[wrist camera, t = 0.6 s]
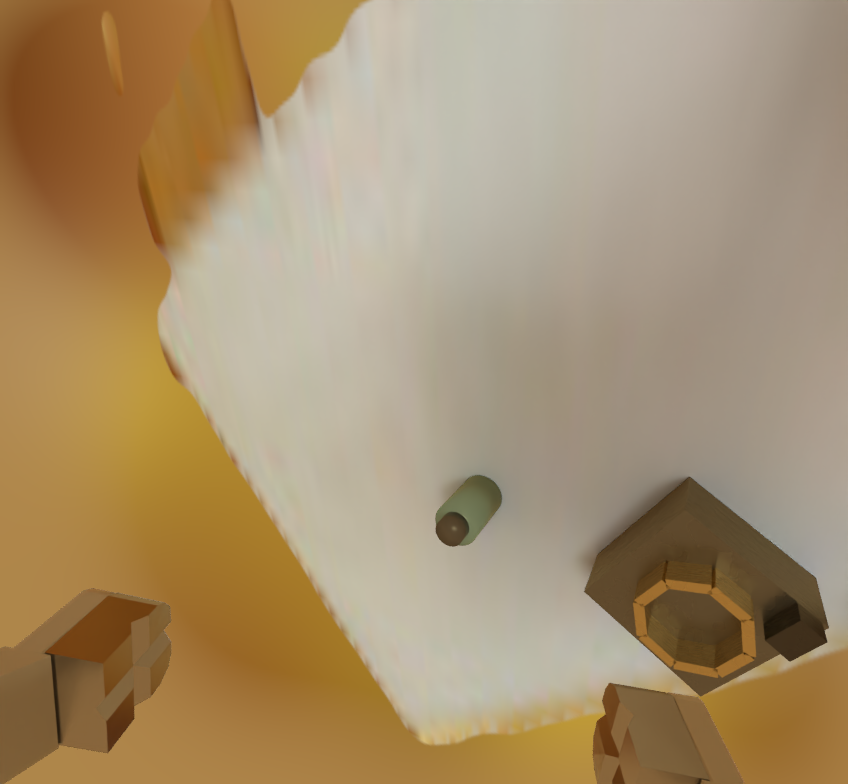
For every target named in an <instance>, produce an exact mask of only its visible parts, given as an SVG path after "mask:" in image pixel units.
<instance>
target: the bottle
mask: <svg viewBox="0 0 848 784" xmlns="http://www.w3.org/2000/svg"><path fill="white" fill-rule="evenodd" d="M501 502H502V495H501V492H500V489H499V487H498V486H497V485H496V483H495V482H494V481H492V480H491V479H489V478H487V477H485V476H481V475H475V476H472V477H470V478H468V479H467V480H466V481H465V482H464V484H463V485H462V486H461V487H460V488H459V489H458V490H457V491H456V492H455V493H454V494H453V495H452V496H451V497H450V498H449V499H448V500H447V501H446V502H445V503H444V504H443V505H442V506H441V507H440V508H439V510H438V511H437V513H436V534H437V536H438V538H439V539H440V540H441V541H442V542H443V543H444V544H446V545H448V546H458V545H461V546H464V545H468V544H470V543H472V542H473V541H474V540H475V538H476V537H477V536H478V534H479V533H480V532H481V530H482V529H483V528H484V527H485V525H486V524H487V523H488V521H489V520H490V519H491V517H492V516H493V515H494V513H495V512H496V511H497V510H498V508H499V507H500V505H501Z"/></svg>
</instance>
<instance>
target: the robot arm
mask: <svg viewBox="0 0 848 784" xmlns="http://www.w3.org/2000/svg"><path fill="white" fill-rule="evenodd" d="M170 615H171V614H170V606H169V605H167V604H166V603H164V602H159V601H154V600H150V599H145V598H140V597H135V596H130V595H125V594H121V593H113V592H108V591H104V590H99V589H94V588H91V589H88V590H84V591H82V592H81V593H80V594H78V595H77V596H76V597H75V598H74V599H72V600H71V601H70V602H69V603H68V604H66V605H65V606H64V607H63V608H61V609H60V610H59V611H58V612H57V613H55V614H54V615H53V616H52V617H51V618H49V619H48V620H47V621H46V622H44V623H43V624H42V625H41V626H40V627H38V628H37V629H36V630H35V631H34V632H32V633H31V634H30V635H29V636H27V637H26V638H25V639H24V640H23V641H21V642H20V643H19V644H18V645H16V646H15V647H14V648H11V647H3V648H0V784H4V783H6V782H7V781H9V780H11V779H12V778H13V777H15V776H16V775H18V774H20V773H21V772H23V771H24V770H26V769H27V768H29V767H30V766H32V765H34V764H35V763H37V762H38V761H40V760H41V759H43V758H44V757H46V756H47V755H49V754H50V753H52V752H53V751H55V750H56V749H58V747H59V745H63V746H68V747H74V748H80V749H86V750H91V751H98V752H103V753H108V752H109V751H110V750H111V749H112V747H113V746H114V744H115V743H116V742H117V741H118V739H119V738H120V737H121V735H122V734H123V733H124V732H125V730H126V729H127V728H128V726H129V725H130V724H131V722H132V721H133V720H134V706H135V705H137V704H139V703H141V702H143V701H144V700H146V699H148V698H150V697H151V696H152V695H153V693H154V692H155V690H156V689H157V688H158V686H159V685H160V683H161V681H162V679H163V677H164V675H165V673H166V670H167V668H168V666H169V661H170V656H171V641H170V639H169V638H168V636H167V635H166V633H165V632H164V629H165V628H166V627H167V626H168V624H169V623H170V622H171V616H170ZM602 701H603V705H604V709H605V713H606V715H604V716H603V717H602V718H600V719H599V720H598V721H597V723H596V728H595V732H594V738H593V761H594V770H595V775H596V779H597V784H745V782H744V781H743V779H742V777H741V775H740V773H739V771H738V769H737V767H736V765H735V763H734V761H733V759H732V757H731V755H730V753H729V751H728V749H727V748H726V745H725V744H724V742H723V740H722V738H721V736H720V734H719V732H718V730H717V728H716V726H715V724H714V722H713V721H712V718H711V716H710V714H709V712H708V710H707V708H706V707H705V705H704V703H703V702H702V701H701V700H700V699H699V698H698V697H694V696H688V695H681V694H675V693H669V692H668V693H665V692H660V691H654V690H648V689H643V688H637V687H631V686H625V685H619V684H614V683H609V684H608V686H607V687H606V689H605V692H604V696H603V700H602Z"/></svg>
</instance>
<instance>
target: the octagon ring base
mask: <svg viewBox="0 0 848 784" xmlns="http://www.w3.org/2000/svg"><path fill="white" fill-rule="evenodd" d="M584 592H585V593H586V594H588V595H589V596H590V597H591V598H592V599H593V600H594V601H595V602H596V603H598V604H599V605H600V606H601V607H602V608H603V609H604V610H605V611H606V612H608V613H609V614H610V615H611V616H612V617H613V618H614V619H615V620H616V621H617V622H619V623H620V624H621V625H622V626H623V627H624V628H625V629H626V630H627V631H629V632H630V633H631V634H632V635H633V636H634V637H635V638H636V639H637V640H639V641H640V642H641V643H642V644H643V645H644V646H645V647H646V648H647V649H649V650H650V651H651V652H652V653H653V654H654V655H655V656H656V657H657V658H659V659H660V660H661V661H662V662H663V663H664V664H665V665H666V666H667V667H668V668H670V669H671V670H672V671H673V672H674V673H675V674H676V675H677V676H678V677H680V678H681V679H682V680H683V681H684V682H685V683H686V684H687V685H688V686H690V687H691V688H692V689H693V690H694V691H695V692H696V693H697V694H698V695H700V696H702V695H704V694H706V693H708V692H710V691H712V690H714V689H716V688H717V687H719V686H721V685H723V684H725V683H727V682H729V681H731V680H732V679H734V678H736V677H738V676H740V675H742V674H744V673H745V672H747V671H749V670H751V669H753V668H755V667H757V666H759V665H760V664H762V663H764V662H766V661H768V660H770V659H772V658H774V657H775V656H777V655H779V654H781V655H783V656H784V657H785V658H786V659H787V660H788V661H792V660H794V659H796V658H798V657H800V656H802V655H804V654H806V653H807V652H809V651H811V650H813V649H815V648H817V647H819V646H821V645H823V644H825V643H827V639H826V635H825V631H824V630H826V629H828V628H829V626H828V623H827V619H826V615H825V611H824V607H823V603H822V599H821V596H820V592H819V588H818V584H817V580H816V578H815V577H814V576H813V575H811V574H810V573H809V572H808V571H806V570H805V569H804V568H803V567H801V566H800V565H799V564H798V563H796V562H795V561H794V560H793V559H792V558H790V557H789V556H788V555H787V554H785V553H784V552H783V551H782V550H780V549H779V548H778V547H777V546H775V545H774V544H773V543H772V542H770V541H769V540H768V539H767V538H765V537H764V536H763V535H762V534H760V533H759V532H758V531H757V530H755V529H754V528H753V527H752V526H750V525H749V524H748V523H747V522H745V521H744V520H743V519H742V518H740V517H739V516H738V515H737V514H735V513H734V512H733V511H732V510H730V509H729V508H728V507H727V506H725V505H724V504H723V503H722V502H720V501H719V500H718V499H717V498H715V497H714V496H713V495H712V494H710V493H709V492H708V491H707V490H705V489H704V488H703V487H702V486H700V485H699V484H698V483H697V482H695V481H694V480H693V479H692V478H690V477H689V478H688V479H686V480H685V481H684V482H683V483H682V484H680V485H679V486H678V487H677V488H676V489H675V490H673V491H672V492H671V493H670V494H669V495H667V496H666V497H665V498H664V499H663V500H661V501H660V502H659V503H658V504H657V505H656V506H654V507H653V508H652V509H651V510H650V511H648V512H647V513H646V514H645V515H644V516H642V517H641V518H640V519H639V520H638V521H637V522H635V523H634V524H633V525H632V526H631V527H629V528H628V529H627V530H626V531H625V532H623V533H622V534H621V535H620V536H619V537H617V538H616V539H615V540H614V541H613V542H612V543H610V544H609V545H608V546H607V547H606V548H604V549H603V550H602V551H601V552H600V553H598V555H597V558H596V561H595V563H594V566H593V569H592V571H591V574H590V577H589V580H588V582H587V585H586V588H585V591H584Z"/></svg>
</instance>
